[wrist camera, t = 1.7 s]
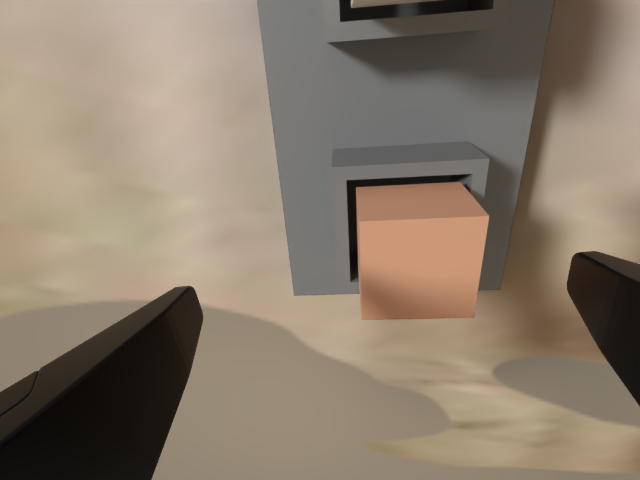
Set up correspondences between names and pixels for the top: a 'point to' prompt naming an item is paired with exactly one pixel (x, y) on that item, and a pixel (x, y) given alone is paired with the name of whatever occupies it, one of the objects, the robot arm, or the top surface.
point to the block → (397, 115)
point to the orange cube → (419, 251)
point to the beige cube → (382, 2)
